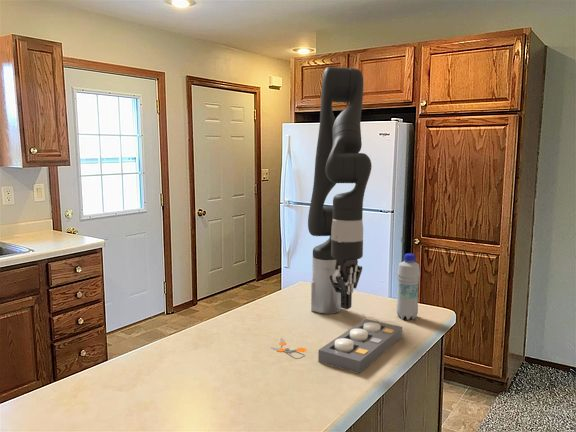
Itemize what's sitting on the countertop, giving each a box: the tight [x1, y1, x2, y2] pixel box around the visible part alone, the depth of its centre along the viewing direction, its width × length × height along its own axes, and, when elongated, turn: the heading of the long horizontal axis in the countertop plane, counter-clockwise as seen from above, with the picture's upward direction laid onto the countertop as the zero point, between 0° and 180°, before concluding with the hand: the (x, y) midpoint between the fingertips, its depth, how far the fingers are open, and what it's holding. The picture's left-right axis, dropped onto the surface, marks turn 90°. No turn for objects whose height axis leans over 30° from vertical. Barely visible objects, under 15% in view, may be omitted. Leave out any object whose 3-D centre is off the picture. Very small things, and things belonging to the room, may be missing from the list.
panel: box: [317, 318, 403, 374], centre depth 124 cm, size 26×11×3 cm, turn 145°
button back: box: [363, 322, 381, 333], centre depth 131 cm, size 5×5×2 cm
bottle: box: [396, 252, 421, 321], centre depth 146 cm, size 7×7×20 cm
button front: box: [335, 338, 354, 354], centre depth 118 cm, size 5×5×2 cm
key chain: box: [270, 337, 308, 360], centre depth 124 cm, size 13×7×1 cm, turn 41°
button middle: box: [350, 329, 368, 343], centre depth 124 cm, size 5×5×2 cm
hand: (345, 308), depth 116 cm, fingers closed
